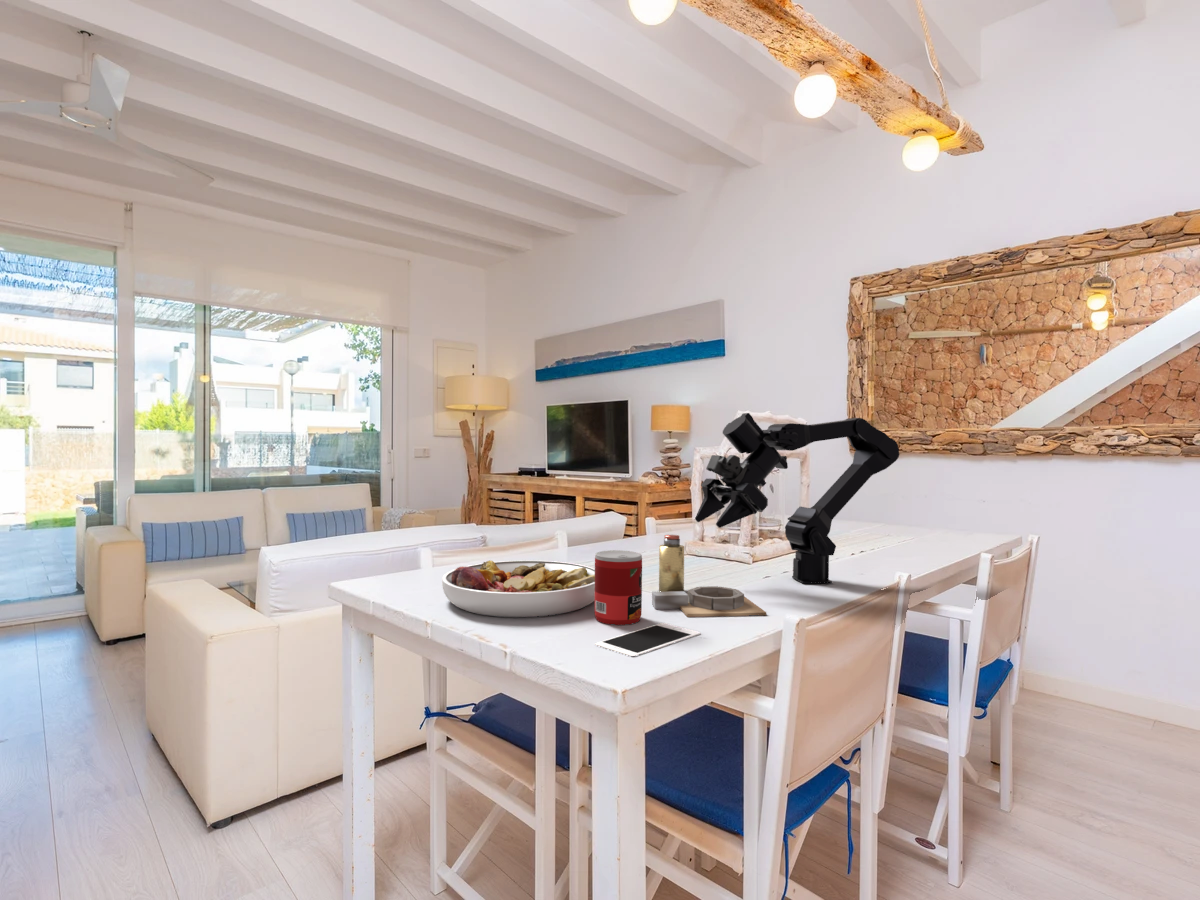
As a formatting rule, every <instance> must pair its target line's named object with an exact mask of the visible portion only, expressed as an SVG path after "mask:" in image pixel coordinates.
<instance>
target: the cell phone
mask: <svg viewBox="0 0 1200 900" xmlns="http://www.w3.org/2000/svg"><path fill="white" fill-rule="evenodd" d="M697 635H698V636H700V635H701V632H700V631H697V630H694V629H693V630H692V629H689V628H685V627H681V626H677V625H674V624H670V623H665V622H661V623H656V624H654V625H650V626H647V627H644V628H639V629H638V630H633V631H630V632H626V633H623V634H619V635H617V636H613V637H610V638H607V639H603V640H601V641H598V642H595V643H594V646H595V645H597V646H596V647H598V646H600V647H599V648H601V647H603V648H602V649H604V648H605V650H607V649H609V650H608V651H611V650H612V651H611V652H614V651H616V652H615V653H617V652H619V653H618V654H620V653H622V654H621V655H623V654H625V655H624V656H626V655H628V656H627V657H629V656H636V655H639V654H642V655H644V654H643V653H645V652H648V651H651V652H653V651H652V650H654V651H656V650H655V649H657V650H659V648H660V649H663V648H665V646H666V647H668V646H670V645H669V644H671V645H673V644H672V643H674V642H677V643H679V642H678V641H680V640H683V641H685V640H684V639H686V640H688V639H687V638H689V639H691V638H690V637H692V638H695V637H697ZM694 636H695V637H694ZM680 642H681V641H680ZM674 644H675V643H674ZM667 645H668V646H667ZM662 647H663V648H662ZM648 653H649V652H648ZM645 654H646V653H645ZM639 656H640V655H639Z"/></svg>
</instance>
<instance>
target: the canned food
mask: <svg viewBox="0 0 1200 900" xmlns="http://www.w3.org/2000/svg"><path fill="white" fill-rule="evenodd" d="M594 556H595V557H594V568H595V600H594V617H595V620H596V621H598V622H599V623H601V622H602V624H605V625H611V624H615V625H614V626H626V625H625V624H629V625H633V624H632V623H634V624H636V622H637V623H639V621H640V620H641V617H642V601H643V598H642V597H643V557H642V556H643V555H642V553H640V552H636V551H630V550H618V549H617V550H616V549H615V550H602V551H598V552H596V553H595V555H594Z"/></svg>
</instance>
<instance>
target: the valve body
mask: <svg viewBox="0 0 1200 900" xmlns="http://www.w3.org/2000/svg"><path fill="white" fill-rule="evenodd" d="M658 546H659V547H658V549H659V551H658V553H659V554H658V555H659V556H658V557H659V561H658V592H660V591H661V592H674V591H684V592H685V545H682V544H681V539H680V535H679V534H678V535H677V534H665V535H664V536H663V544H659V545H658Z"/></svg>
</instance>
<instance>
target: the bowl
mask: <svg viewBox="0 0 1200 900" xmlns="http://www.w3.org/2000/svg"><path fill="white" fill-rule="evenodd" d="M441 582H442V585H441V586H442V590H443V594H444V595H445V597H446V599H447V600H448V601H449V602H450V603H452V605H453V606H455V607H457V608H460V609H461V610H463V611H466V612H469V613H473V614H477V615H483V616H488V617H499V618H537V616H539V617H548V615H549V616H556V615H555V614H557V615H562V614H566V613H570V612H575V611H577V610H580V609H582V608H585V607H587V606H589V605H591V604H592V603H593V602H595V567H592V566H587V565H584V564H579V563H573V562H565V561H554V560H553V561H552V560H534V559H533V560H531V559H530V560H526V559H525V560H523V559H522V560H503V561H493V560H487V561H483V563H482V562H481V563H477V564H469V565H465V566H458V567H456V568H455V569H454V568H453V569H452V570H449V571H448V572H446V573H445V574H444V575H442V581H441Z"/></svg>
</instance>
